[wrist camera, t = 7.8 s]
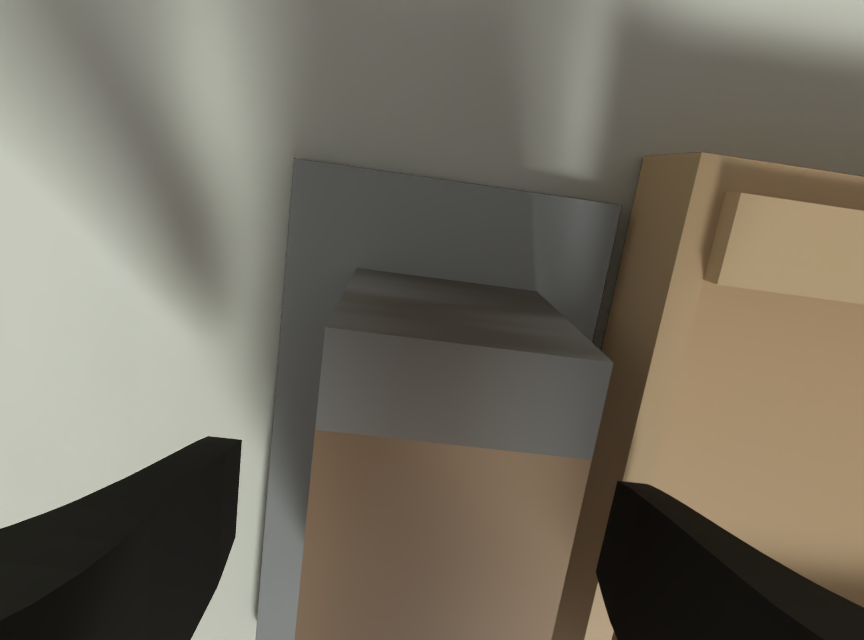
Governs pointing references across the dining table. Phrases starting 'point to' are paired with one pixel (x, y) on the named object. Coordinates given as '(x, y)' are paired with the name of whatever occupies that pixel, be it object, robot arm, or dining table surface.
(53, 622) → the robot arm
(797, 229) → the shallow wooden tray
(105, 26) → the dining table surface
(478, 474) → the box
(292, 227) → the mat
